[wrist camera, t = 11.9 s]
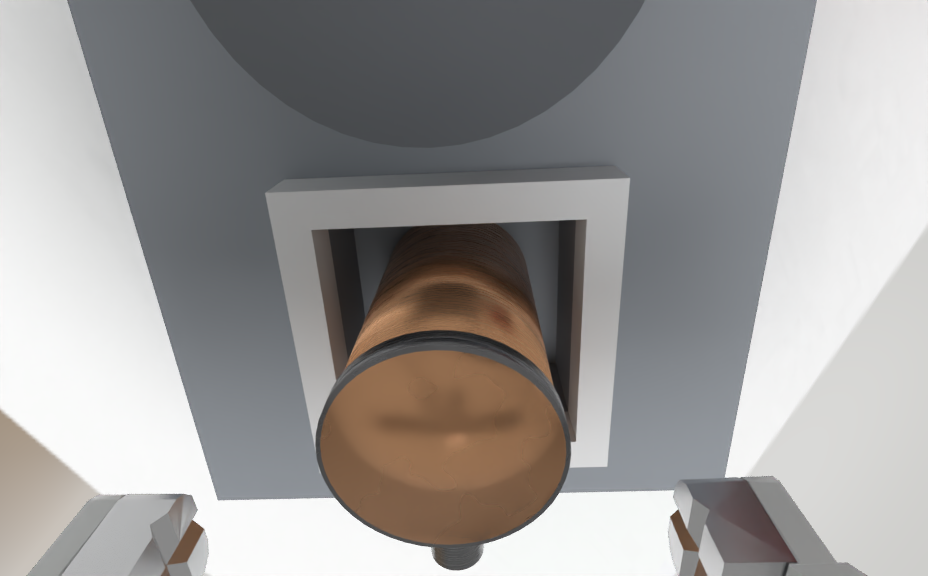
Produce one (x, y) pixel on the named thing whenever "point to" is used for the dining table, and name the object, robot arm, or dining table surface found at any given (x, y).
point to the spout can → (447, 399)
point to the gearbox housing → (454, 200)
